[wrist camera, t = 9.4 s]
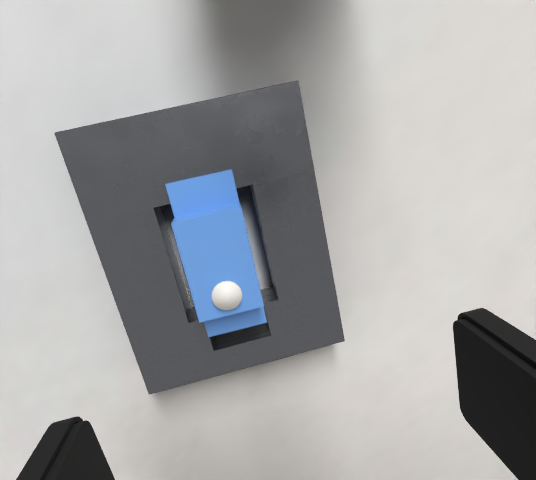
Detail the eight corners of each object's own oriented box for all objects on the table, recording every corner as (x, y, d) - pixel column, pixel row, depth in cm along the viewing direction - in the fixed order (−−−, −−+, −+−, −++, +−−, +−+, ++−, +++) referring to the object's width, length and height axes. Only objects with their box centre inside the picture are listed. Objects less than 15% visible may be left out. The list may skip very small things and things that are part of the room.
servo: (229, 167, 28) (233, 171, 22) (261, 303, 31) (271, 337, 25) (171, 179, 27) (159, 188, 22) (209, 316, 30) (207, 354, 25)
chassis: (290, 87, 27) (298, 80, 24) (334, 325, 32) (344, 341, 29) (70, 134, 25) (54, 132, 23) (154, 373, 31) (149, 394, 28)
